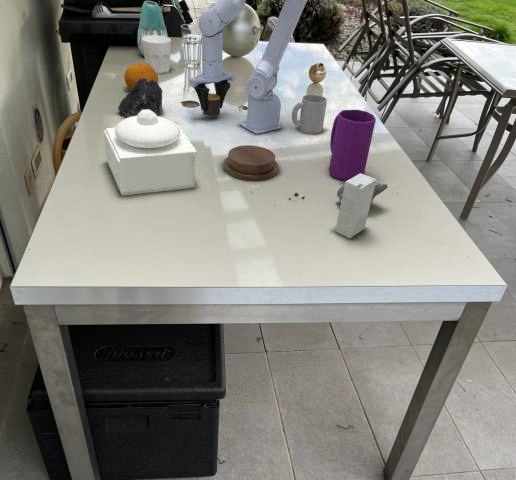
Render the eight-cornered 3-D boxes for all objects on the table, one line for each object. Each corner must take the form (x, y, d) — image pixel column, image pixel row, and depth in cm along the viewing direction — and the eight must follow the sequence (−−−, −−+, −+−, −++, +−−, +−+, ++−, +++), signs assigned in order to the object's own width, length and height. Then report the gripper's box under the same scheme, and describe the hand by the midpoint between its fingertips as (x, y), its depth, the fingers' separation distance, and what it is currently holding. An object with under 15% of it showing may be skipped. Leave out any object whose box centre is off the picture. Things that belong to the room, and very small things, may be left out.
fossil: (371, 196, 131) (379, 164, 126) (387, 214, 125) (396, 182, 119) (329, 198, 128) (335, 166, 123) (343, 217, 122) (350, 185, 117)
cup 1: (170, 75, 188) (168, 44, 181) (141, 73, 188) (139, 41, 181) (173, 67, 195) (172, 36, 189) (146, 64, 195) (144, 34, 188)
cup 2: (325, 134, 158) (330, 103, 152) (293, 134, 156) (297, 103, 150) (318, 124, 163) (322, 94, 157) (287, 125, 161) (290, 94, 155)
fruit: (134, 83, 179) (131, 57, 174) (163, 88, 177) (162, 62, 172) (119, 92, 171) (117, 65, 166) (150, 98, 170) (148, 71, 164)
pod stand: (255, 153, 145) (256, 140, 142) (288, 173, 137) (290, 159, 135) (213, 163, 138) (213, 150, 135) (245, 185, 130) (246, 171, 128)
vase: (175, 58, 204) (173, 3, 192) (151, 62, 197) (148, 6, 185) (156, 50, 209) (153, -3, 197) (132, 55, 203) (127, -1, 190)
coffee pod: (213, 109, 163) (213, 92, 160) (223, 114, 160) (223, 97, 157) (200, 112, 161) (200, 94, 157) (209, 117, 158) (209, 100, 155)
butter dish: (107, 163, 133) (99, 97, 123) (177, 157, 139) (175, 93, 128) (121, 196, 122) (113, 125, 111) (197, 187, 128) (196, 120, 117)
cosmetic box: (348, 222, 121) (359, 171, 112) (365, 229, 119) (377, 178, 110) (333, 232, 117) (343, 180, 109) (350, 240, 115) (362, 187, 107)
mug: (337, 183, 135) (347, 123, 125) (314, 157, 145) (322, 100, 135) (369, 180, 137) (382, 121, 127) (344, 155, 148) (355, 99, 138)
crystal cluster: (122, 125, 154) (121, 90, 147) (114, 104, 162) (114, 70, 155) (167, 126, 158) (169, 92, 151) (158, 106, 167) (159, 73, 160)
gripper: (224, 52, 156) (223, 100, 165) (182, 58, 149) (184, 108, 158) (239, 59, 152) (237, 108, 162) (196, 65, 145) (197, 116, 154)
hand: (211, 108), depth 160 cm, fingers closed on coffee pod, 5 cm apart
